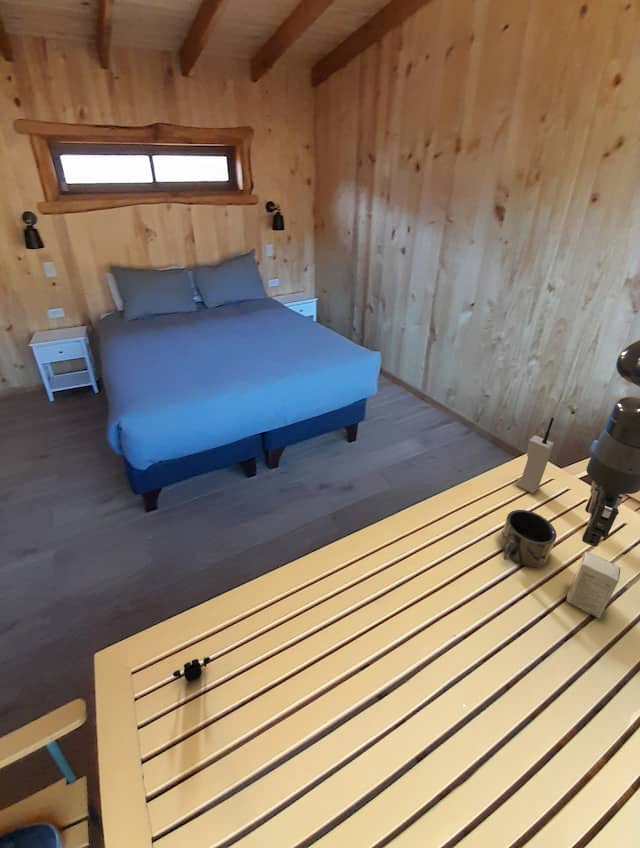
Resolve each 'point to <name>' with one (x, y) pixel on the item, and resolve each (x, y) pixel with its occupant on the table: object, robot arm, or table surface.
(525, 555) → the mug
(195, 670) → the wireless earbuds
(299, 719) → the table surface
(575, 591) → the cosmetic box
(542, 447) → the vintage mobile phone
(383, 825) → the table surface
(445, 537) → the table surface
